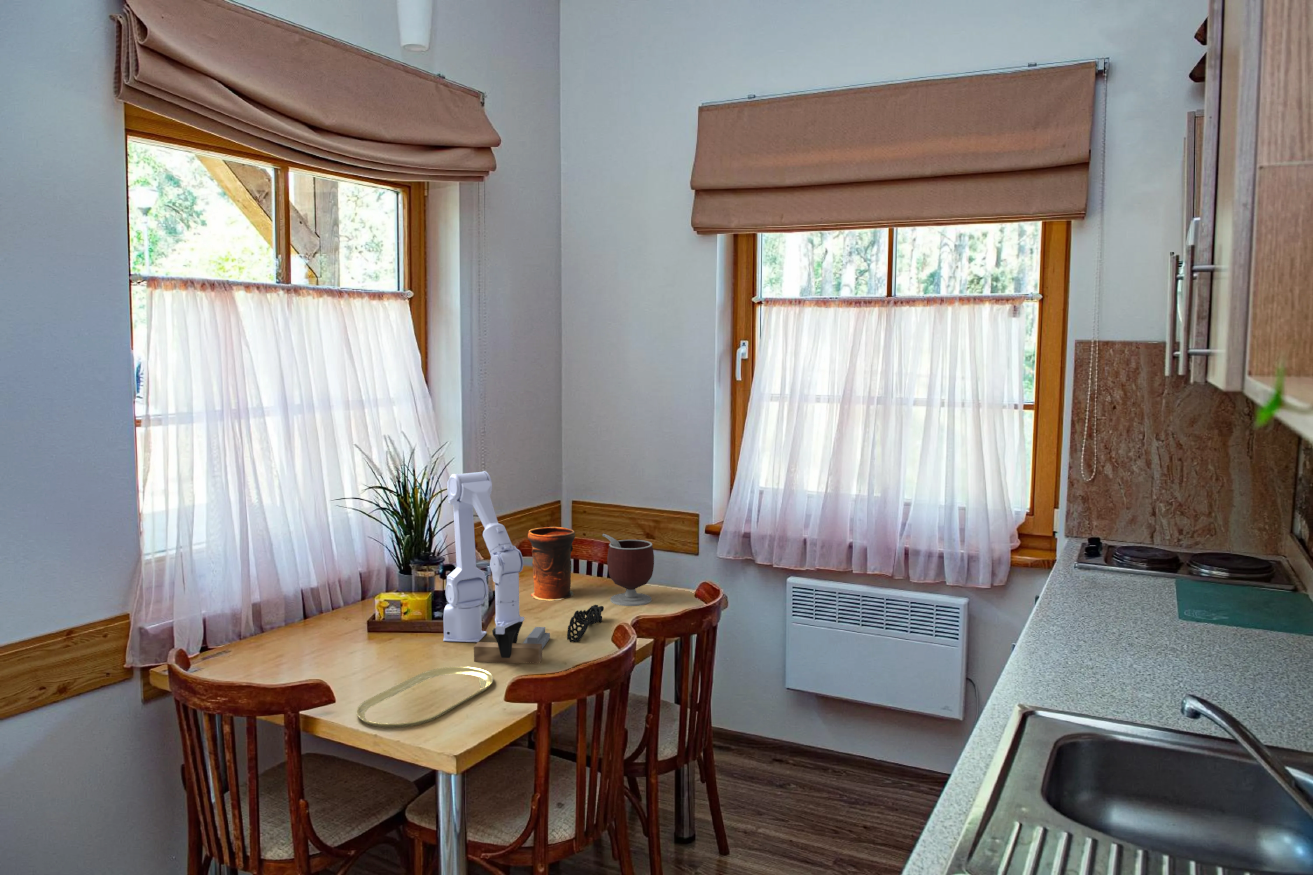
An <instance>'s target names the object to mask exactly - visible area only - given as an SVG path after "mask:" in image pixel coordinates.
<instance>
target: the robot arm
mask: <svg viewBox="0 0 1313 875" xmlns="http://www.w3.org/2000/svg"><path fill="white" fill-rule="evenodd" d="M446 486H447V488H446V489H447V500H448V501H447V502H448V504H449V505H451V506H452V509H453V524H454V525H453V526H454V528H453V530H454V542H455V543H454V544H455V545H454V546H455V561H456V568H455V569H453V570H452V571H451V572H450V573H449V574H448V575H447V576H446V585H445V593H444V594H445V598H446V601H447V604H446V605H445V607H444V609H443V615H442V616H443V618H442V619H443V621H442V622H443V639H442V640H443V642H463V643H465V642H466V643H478V642H481V640H482V639H483V638H484V637H485V636H486V634H487V633H488V632H487V631H485V630H482V629H483V628H482V623H483V622H482V605H483V604H484V603H485V602H484V601H485V600H487V597H488V595H489V585H488V582H487V579H486V573H485V572H484V570H481V569H480V568H478V567H477V556H476V541H475V540H476V539H475V538H476V537H475V522H474V511H475V512H476V514H477V517H478V518H479V520H480V521H481V522H480V523H481V524H482V526H483V528H484V530H483V531H482V537H483V540H484V543H485V545H486V548H487V550H488V553H489V555H490V560H489V566H490V571H491V574H492V575H491V576H492V581H493V582H494V595H495V596H494V599H495V616H494V623H495V627H493V629H492V630H491V631H492V632H491V633H492V635H493V637H494V639H495V641H496V643H498V647H499V651H500V654H501V658H510V656H511V651H512V643H518V638H519V633H520V631H521V628H522V625H523V622H524V621H525V617H524V616H521V615H520V573H521V572H522V571H523V569H524V557H523V555H522V552H521V550H520V549H518V548H517V547H516V545H513V543H512V541H511V538H510V537H509V534H508V531H507V530H506V527H505V525H503V523H499V521H498V518H497V514H496V511H495V508H494V505H493V501H492V498H491V495H492V493H493V492H492V491H493V481H492V478H491V475H490V474H489V473H488V472H487V470H483V471H479V472H478V471H477V472H467V473H466V472H465V473H452V474H451V475H450V476H449V479H448V480H447V483H446Z"/></svg>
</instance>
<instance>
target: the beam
mask: <svg viewBox="0 0 1313 875" xmlns="http://www.w3.org/2000/svg"><path fill="white" fill-rule="evenodd" d="M542 659H543V649H542V644H528V643H523V642H521V643H520V642H517V643H512V651H511V656H510V658H501V654H500V651H499V647H498V643H497V642H494V641H493V642H492V641H491V642H489V641H487V642H486V641H485V642H483V641H479V642H476V644H474V645H473V661H474V662H480V663H507V664H508V663H511V664H539V665H540V663H541V661H542Z"/></svg>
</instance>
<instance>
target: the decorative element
mask: <svg viewBox="0 0 1313 875" xmlns="http://www.w3.org/2000/svg"><path fill="white" fill-rule="evenodd" d="M604 609H605V608H604V606H602V605H598V604H593V605H591V606H590V607H589V608H588V609H587V610H586V609H584V610H582V609H581V610H576V611H574V613H573V615H572V616H571V618H570V620H569V625H568V626H567V632H566V639H567V640H569V642H570V643H577V642H579V641H580V640H581V639H582V638H583V636H584V635H585V633H586V632H587V629H588V627H589V626H590V625H595V624H597V623H602V622H603V616H602V612H604ZM574 625H575V627H574ZM579 628H580V629H579ZM575 632H576V633H575Z"/></svg>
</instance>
